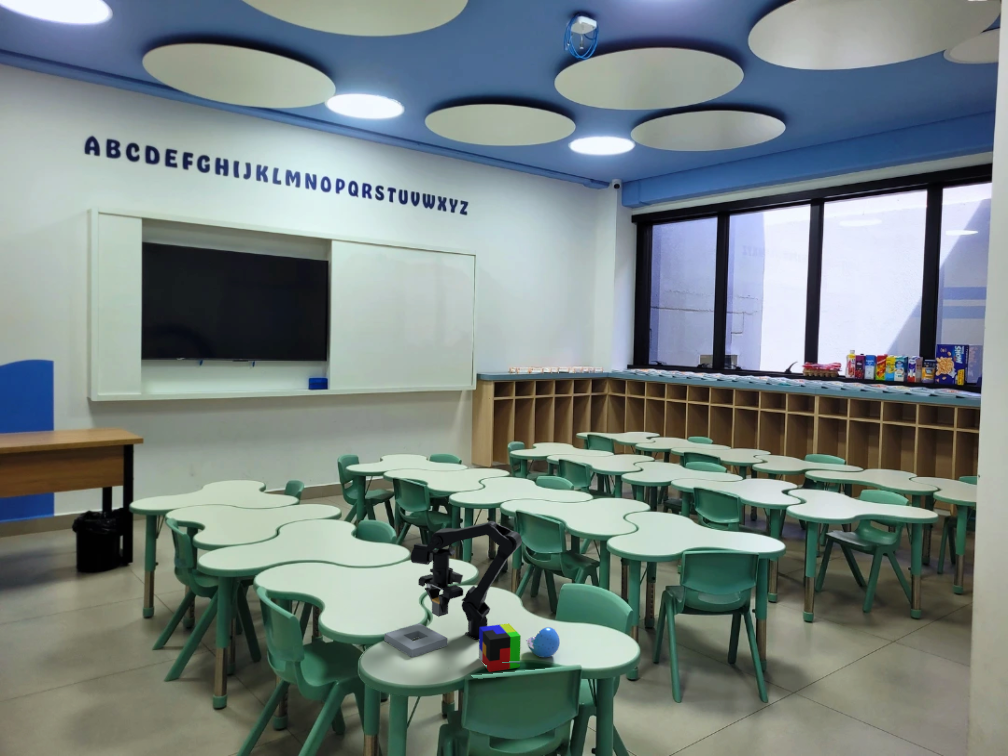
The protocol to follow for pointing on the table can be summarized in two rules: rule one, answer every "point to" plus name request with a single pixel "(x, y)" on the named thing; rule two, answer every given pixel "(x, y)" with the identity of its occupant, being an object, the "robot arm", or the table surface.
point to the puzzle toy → (499, 646)
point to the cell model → (544, 642)
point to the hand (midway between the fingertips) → (440, 610)
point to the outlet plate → (425, 644)
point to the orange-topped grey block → (437, 608)
